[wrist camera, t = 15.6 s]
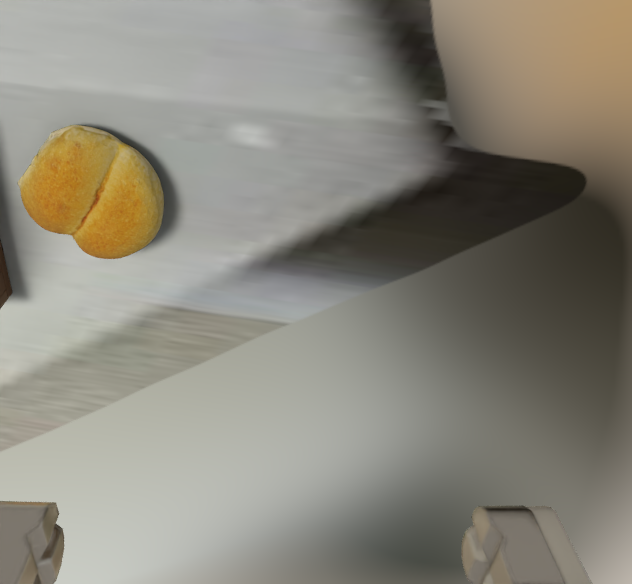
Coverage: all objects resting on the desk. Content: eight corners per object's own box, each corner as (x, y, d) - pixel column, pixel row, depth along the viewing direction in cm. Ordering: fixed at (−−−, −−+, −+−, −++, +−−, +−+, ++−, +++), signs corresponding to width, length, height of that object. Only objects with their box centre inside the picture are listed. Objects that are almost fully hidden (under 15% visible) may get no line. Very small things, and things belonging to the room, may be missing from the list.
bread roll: (129, 265, 41) (116, 293, 37) (13, 193, 37) (-13, 217, 34) (192, 184, 38) (185, 207, 35) (73, 97, 34) (52, 113, 31)
